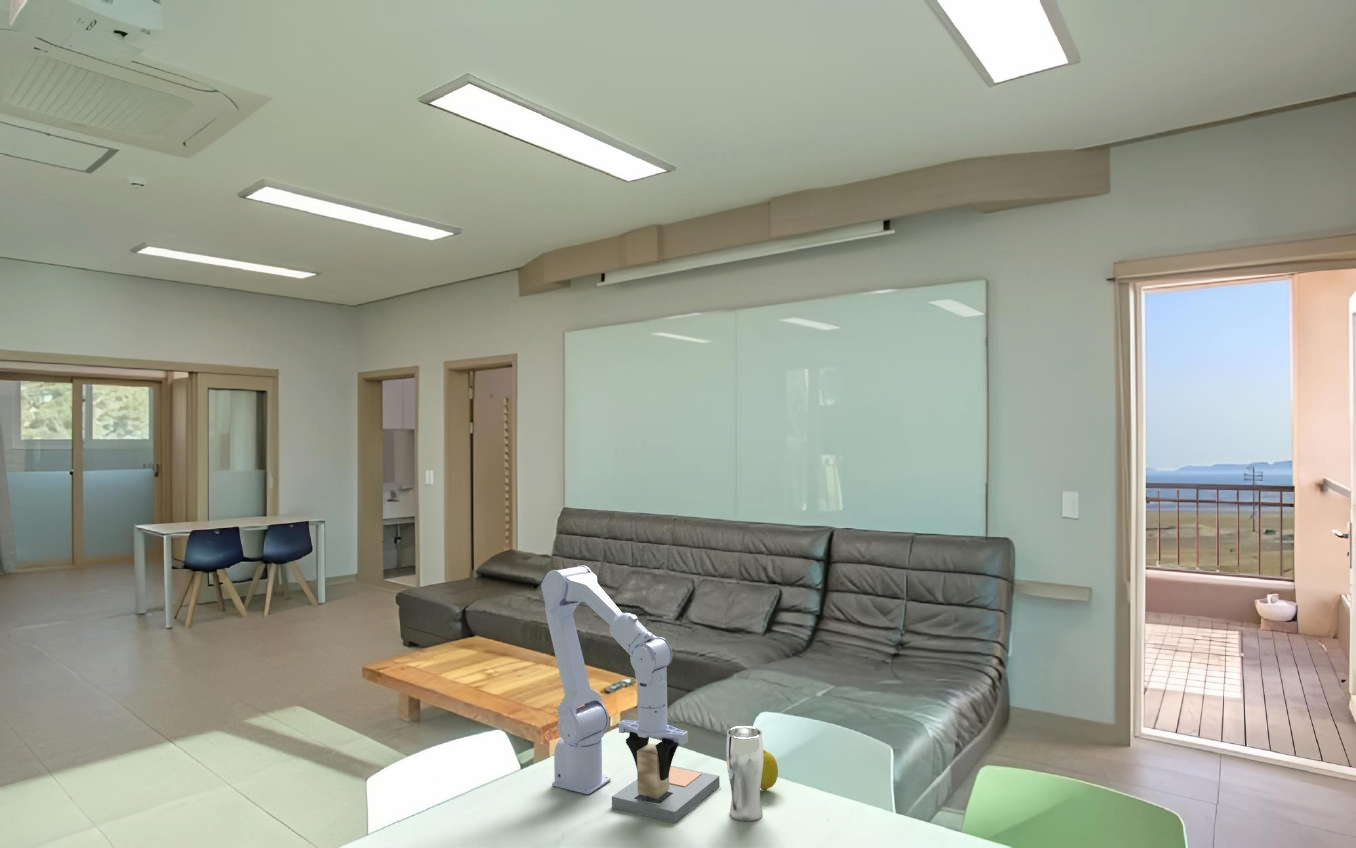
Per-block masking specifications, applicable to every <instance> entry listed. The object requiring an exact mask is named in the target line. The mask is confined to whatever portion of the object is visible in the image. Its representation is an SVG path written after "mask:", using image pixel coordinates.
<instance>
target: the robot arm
mask: <svg viewBox="0 0 1356 848" xmlns="http://www.w3.org/2000/svg"><path fill="white" fill-rule="evenodd" d="M540 587H541V592H542V596H543V601H544V605H545V606H544V607H545V608H544V609H545V610H544V611H545V617H546V620H547V625H548V629H549V634H550V637H551V642H552V646H553V651H554V654H555V660H556V664H557V669H558V672H559V677H560V680H561V685H562V690H563V694H564V696H563V698H562V699H561V702H560V703H559V705H558V706H557V708H556V711H557V716H558V723H557V730H558V733H559V735H560V738H559V740H558V741H557V742H556V745H555V748H554V754H553V756H554V757H553V759H554V761H553V762H554V763H553V764H554V765H553V767H554V773H553V774H554V775H553V776H554V781H553V782H552V783H551V786H553V787H557V788H561V789H565V790H568V791H572V792H578V793H581V794H585V795H590V794H591V793H594V792H595V791H596V790H598V789H599V788H601V787H603V786H605V784H607V783H609V782H610V781H612V778H611V777H610V776H605V775H603V757H602V756H603V755H602V754H603V753H602V752H603V750H602V749H603V747H602V745H603V742H602V741H603V740H602V738H603V737H604V735H605V734H604V733H605V731H606V730H607V729H608V726H609V724H610V714H609V712H608V711H609V710H608V709H607V707H606V706H605V704H604V702H603V700H602V696H601V694H600V693H599V692H597V691H595V690H594V689H592V688H591V685H590V682H589V676H588V672H587V668H586V664H585V660H584V656H583V651H582V648H581V647H582V646H581V644H580V639H579V635H578V632H577V630H578V629H577V628H576V623H575V618H574V612H575V610H576V608H577V606H579V604H580V603H585V605H587V606H588V607H589V608H591V610H593V611H594V612H595V614H597V615H598V616H600V618H601V619H603V620H604V621H605V622H606V623H607V624H608V625H609V634H610V636H612V638H613V639H614V640H615V641H616V642H617V643H618V644H619V645H620V646H621V647H622V648H623V649H624V651H626V653H627V654H628V655H629V656H630V657H629V660H630V664H631V666H632V668H633V670H634V677H635V679H636V683H637V686H636V688H637V690H636V691H637V692H636V694H637V695H636V697H637V720H629V719H628V720H627V719H623V720H621V721H619V722H618V733H620V734H629V735H628V737H627V738H625V744H626V745H627V747H628V749H629V751H630V752H631V755H632V758H633V760H634V763H635V767H636V768H637V751H638V750H639V749H641V748H643V747H644V746H646V745H647V744H649V743H650V742H649V741H650V738H652V739H657V740H661V741H659V742H658V743H657V744H655V745H656V749H657V753H658V758H659V774H660V780H665V779H666V778H668V777H669V771H670V767H671V766H672V762H673V759H674V757H675V754H676V751H677V749H678V747H679V745H680V746H684V745H685V744H687V743H688V742H689V732H688V731H687V730H682V729H680V728H677V727H675V726H673V725H670V724H668V687H667V686H668V683H667V682H668V681H667V678H668V677H667V676H668V675H667V673H668V672H667V667H668V666H669V665H670V664H671V662H672V660H673V649H672V646H671V645H670V643H669V642H668V641H667V639H666V638H664V637H662V636H661V637H660V636H656V635H654V634H653V633H652V632H651V631H649V630H648V629H647V628H646V627H645V626H643V624H642V623H641V622H640V621H639V617H637V616H636V614H634V613H633V614H632V613H631V612H622V611H621V610H620V608H619V607H618V606H617V605H616V603H615V602H614V601H613V600H612V599H611V597H610V596H609V595H608V594H607V593H606V591H605V590H604V589H603V588H602V586H600V584H599V583H598V576H597V575H596V574H595V573H594V572H592V570H591V569H590V568H589V567H588V566H586V565H577V566H574V567H568V568H563V569H557V570H556V569H553V570H550V571H548V572H547V573H546V574H545V577H544V578H543V580H542V582H541V585H540Z"/></svg>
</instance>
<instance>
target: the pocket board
mask: <svg viewBox="0 0 1356 848" xmlns="http://www.w3.org/2000/svg"><path fill="white" fill-rule="evenodd" d="M720 784H721V783H720V775H716V774H712V773H708V772H705V771H699V770H694V769H688V768H683V767H679V766H674V765H671V767H670V771H669V790H668V791H667V792H665V793H664V794H663V795H661V796H660V797H659V798H653V797H649V796H645V795H641V794H638V781H637V779H635V780H633V781H632V782H631V783H630V784H628V785H627V786H625V787H623V788H622V789H620V790H619V791H617V792H616V793H615V794H613V795H612V796H611V808H614V809H617V810H622V811H626V812H629V813H633V814H637V815H641V816H645V817H649V818H653V819H657V820H661V821H666V822H669V823H673V824H677V822H678V821H679V820H681V819H682V818H683V817H685V815H687V814H688V813H689V812H690V811H692V810H693V809H694V808H695V807H696V806H698V805H699V804H700V803H701V802H702V801H703V800H704V799H705V798H707V797H708V796H709V795H710V794H712V793H713V792H714V791H715V790H716V789H718V788H719V787H720V786H721V785H720ZM648 799H653V800H658V801H661V802H660V803H659V804H658V803H653V802H649V801H647V800H648Z"/></svg>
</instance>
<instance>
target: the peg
mask: <svg viewBox="0 0 1356 848" xmlns="http://www.w3.org/2000/svg"><path fill="white" fill-rule="evenodd" d="M656 745H657V744H655V743H650V742H648V744H647V745H646V746H644V747H643V748H641V749H639V750H638V751H637V767H636V772H637V778H636V780H637V781H638V794H641V795H645V796H649V797H653V798H659V797H660V796H661V795H663V794H664V793H665V792H667V791H668V790H669V777H668V778H666V779H665V780H660V774H659V758H658V753H657V749H656ZM653 798H652V799H653Z"/></svg>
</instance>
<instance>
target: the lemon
mask: <svg viewBox="0 0 1356 848" xmlns="http://www.w3.org/2000/svg"><path fill="white" fill-rule="evenodd" d="M778 776H779V768H778V762H777V760H776V758H775V756H774V755H773V754H772V753H771V752H769V751H766V749H763V772H762V779H761V786H760V790H762V791H763V792H766V791H767V790H768V789H770V788H772V787H773V786H774V785H776V783H777V780H778V778H779V777H778Z"/></svg>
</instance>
